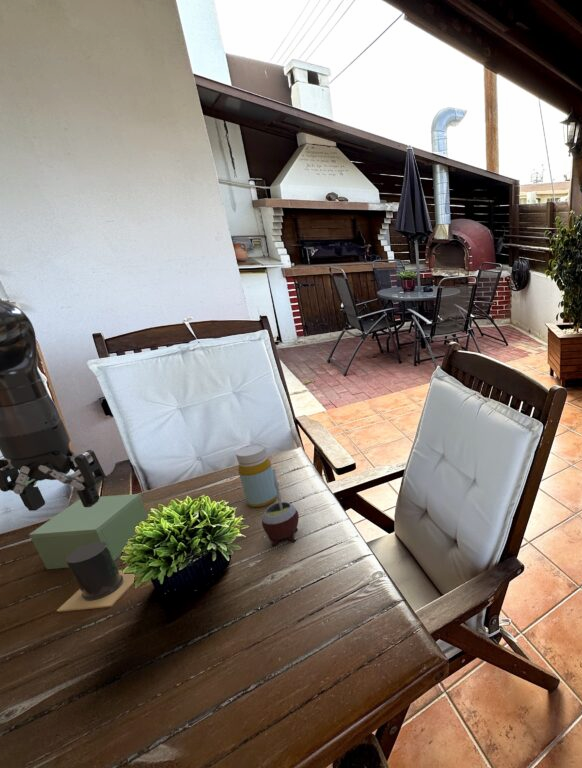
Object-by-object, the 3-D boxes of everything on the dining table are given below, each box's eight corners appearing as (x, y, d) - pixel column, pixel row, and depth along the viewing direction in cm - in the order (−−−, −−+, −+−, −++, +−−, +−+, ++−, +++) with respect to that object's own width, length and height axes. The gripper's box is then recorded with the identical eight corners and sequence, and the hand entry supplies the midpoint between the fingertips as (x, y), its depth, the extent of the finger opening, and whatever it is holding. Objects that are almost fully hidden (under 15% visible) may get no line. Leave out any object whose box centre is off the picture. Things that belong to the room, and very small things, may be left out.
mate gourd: (282, 553, 87) (267, 495, 81) (257, 542, 90) (242, 486, 84) (310, 531, 93) (298, 476, 88) (287, 522, 96) (274, 468, 91)
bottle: (241, 506, 102) (226, 455, 96) (263, 490, 108) (250, 441, 103) (263, 510, 100) (250, 458, 95) (284, 494, 106) (273, 444, 101)
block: (46, 569, 82) (28, 534, 79) (96, 529, 93) (81, 497, 90) (111, 563, 84) (95, 529, 81) (152, 525, 95) (139, 493, 92)
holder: (73, 602, 74) (54, 565, 71) (99, 577, 80) (83, 542, 77) (108, 599, 75) (90, 562, 72) (131, 575, 80) (116, 539, 77)
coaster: (57, 612, 73) (56, 610, 73) (98, 573, 81) (97, 572, 81) (111, 606, 74) (110, 605, 74) (146, 569, 82) (146, 567, 82)
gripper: (-50, 437, 61) (-4, 523, 67) (55, 432, 63) (92, 517, 68) (2, 416, 68) (40, 496, 74) (95, 413, 70) (126, 491, 75)
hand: (65, 506), depth 71 cm, fingers open, 8 cm apart
